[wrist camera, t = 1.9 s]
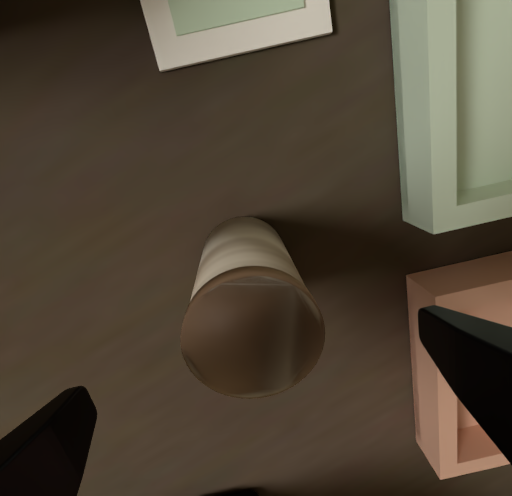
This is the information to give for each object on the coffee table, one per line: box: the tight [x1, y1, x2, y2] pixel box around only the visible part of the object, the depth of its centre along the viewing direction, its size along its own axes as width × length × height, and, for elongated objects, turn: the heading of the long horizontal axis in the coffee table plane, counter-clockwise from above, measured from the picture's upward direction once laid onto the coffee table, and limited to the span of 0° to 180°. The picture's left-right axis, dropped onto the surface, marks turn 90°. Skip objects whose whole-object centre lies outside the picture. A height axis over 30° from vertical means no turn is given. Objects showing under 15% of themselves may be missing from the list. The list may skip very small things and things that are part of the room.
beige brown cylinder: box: [180, 217, 325, 399], centre depth 12 cm, size 4×4×7 cm
